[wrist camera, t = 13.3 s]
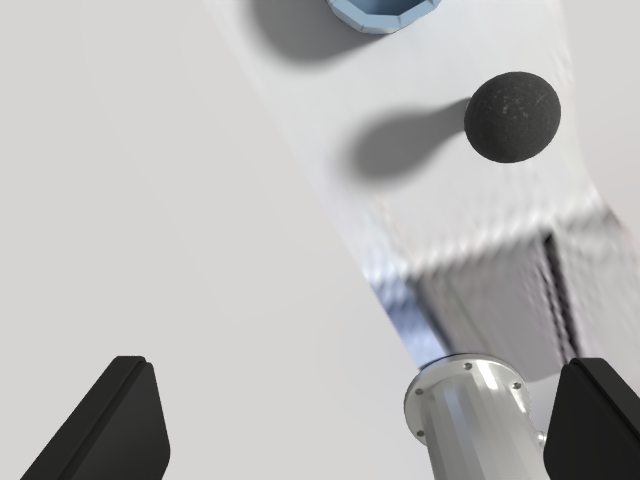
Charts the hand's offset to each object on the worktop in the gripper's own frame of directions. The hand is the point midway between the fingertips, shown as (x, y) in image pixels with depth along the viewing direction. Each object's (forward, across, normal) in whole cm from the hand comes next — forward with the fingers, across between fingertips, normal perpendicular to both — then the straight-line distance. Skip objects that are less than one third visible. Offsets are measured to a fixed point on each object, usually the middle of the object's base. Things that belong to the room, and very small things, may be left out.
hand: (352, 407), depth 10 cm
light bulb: (+28, -11, -4) cm, 31 cm away
